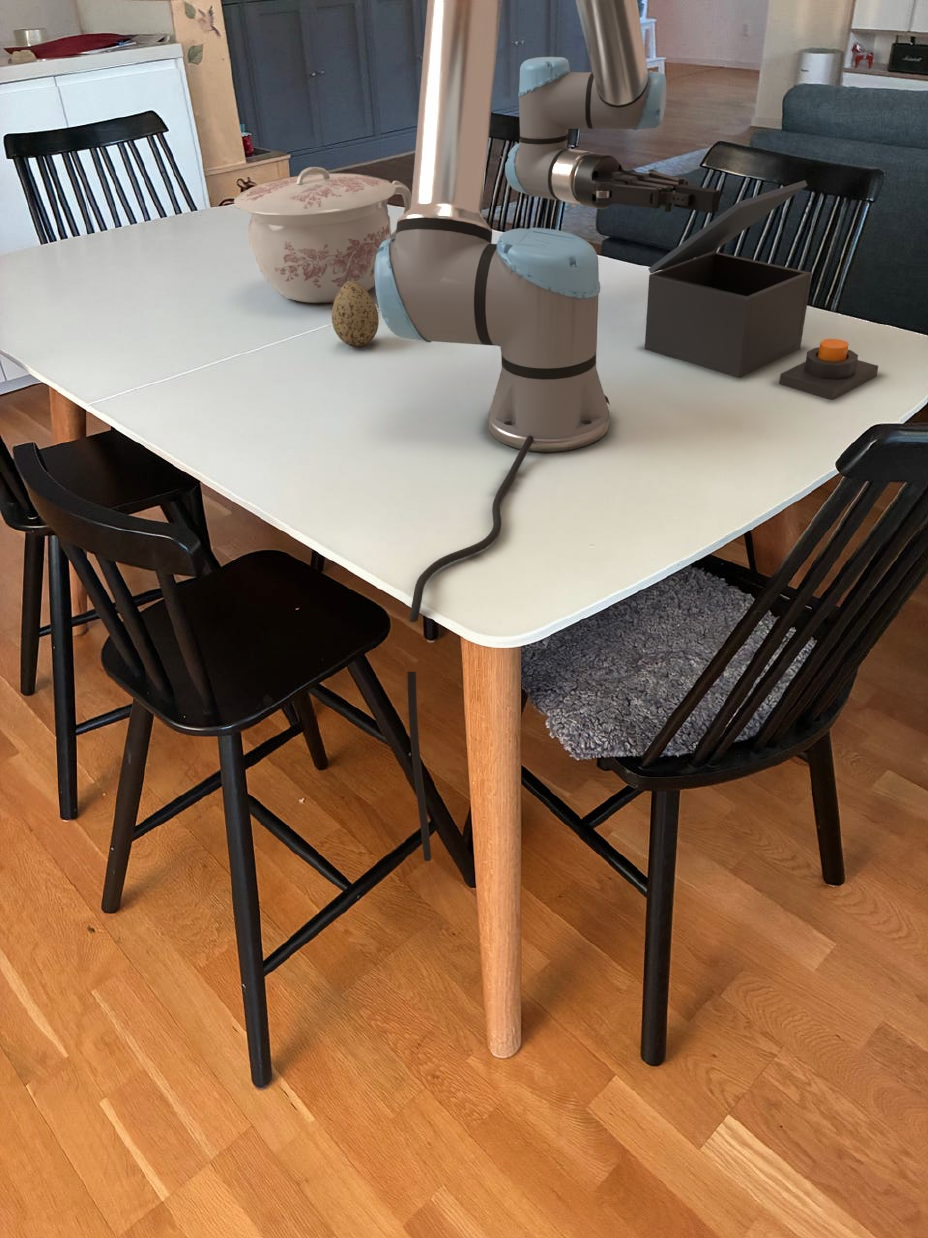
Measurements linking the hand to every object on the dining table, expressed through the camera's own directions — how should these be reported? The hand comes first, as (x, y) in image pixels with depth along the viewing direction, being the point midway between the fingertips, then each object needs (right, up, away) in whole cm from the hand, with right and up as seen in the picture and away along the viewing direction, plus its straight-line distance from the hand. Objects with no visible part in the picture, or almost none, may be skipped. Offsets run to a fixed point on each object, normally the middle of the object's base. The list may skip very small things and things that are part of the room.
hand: (715, 201), depth 134 cm
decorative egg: (-51, -15, +18) cm, 56 cm away
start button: (+15, -22, -4) cm, 27 cm away
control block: (+15, -25, -2) cm, 29 cm away
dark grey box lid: (+2, -4, 0) cm, 4 cm away
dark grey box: (+3, -18, +9) cm, 20 cm away
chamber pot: (-59, +1, +41) cm, 71 cm away
